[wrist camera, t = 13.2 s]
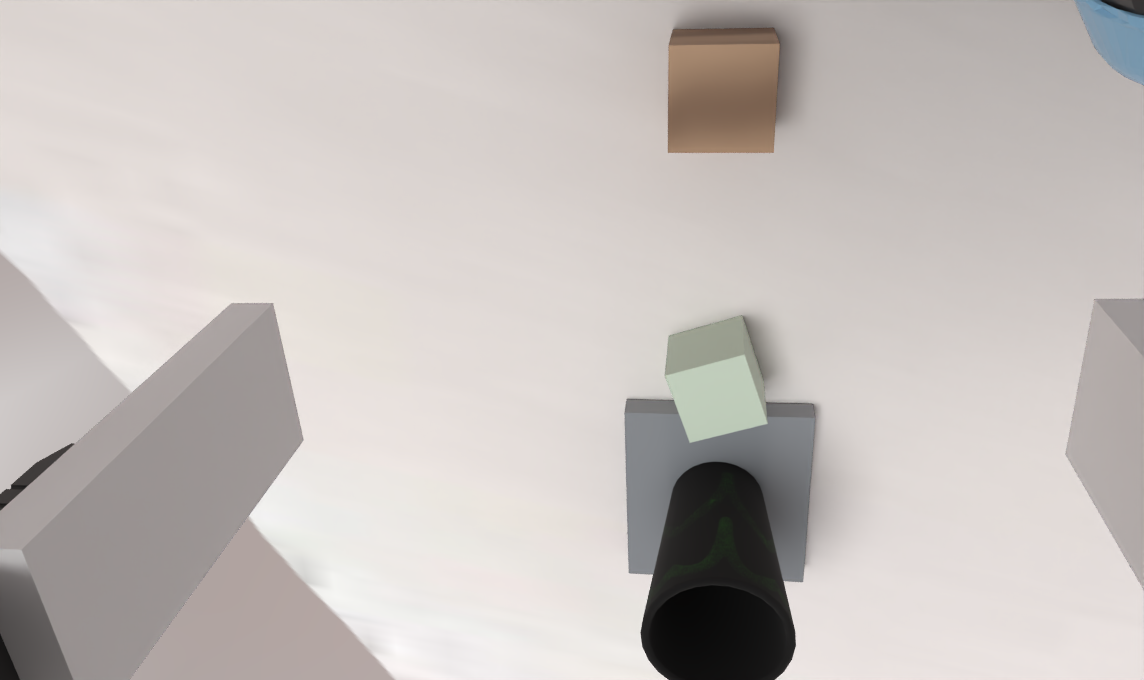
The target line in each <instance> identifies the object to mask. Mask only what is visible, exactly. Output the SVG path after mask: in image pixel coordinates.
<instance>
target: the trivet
mask: <svg viewBox="0 0 1144 680" xmlns="http://www.w3.org/2000/svg"><path fill="white" fill-rule="evenodd" d="M766 411H767V421H768V424H765V425H760V426H756V427H752V428H748V429H744V430H740V431H736V432H732V433H728V434H724V435H720V436H716V437H712V438H708V439H704V440H699V441H695V442H691V443H690V442H689V439H688V436H687V434H686V431H685V428H684V426H683V423H682V420H681V418H680V415H679V412H678V410H677V407H676V404H675V402H674V401H672V400H633V399H627V401H626V407H625V448H626V486H627V523H628V561H629V573H634V574H654V569H655V565H656V560H657V556H658V552H659V547H660V543H661V539H662V534H663V530H664V526H665V521H666V517H667V512H668V508H669V504H670V499H671V495H672V491H673V487H674V485H675V483H676V481H677V479H678V478H679V477H680V476H681V475H682V474H683V473H684V472H685V471H687V470H689V469H690V468H692V467H693V466H696V465H699V464H702V463H707V462H726V463H730V464H734V465H737V466H739V467H741V468H743V469H745V470H746V471H747V472H749V473H750V474H751V475H752V476H753V477H754V478H755V479H756V481H757V482H758V483H759V485H760V488H761V490H762V493H763V497H764V501H765V505H766V510H767V514H768V518H769V522H770V527H771V531H772V535H773V539H774V544H775V548H776V552H777V557H778V561H779V565H780V569H781V574H782V578H783V581H791V582H803V575H804V562H805V549H806V535H807V522H808V508H809V495H810V481H811V468H812V454H813V441H814V427H815V414H814V409H813V404H791V403H766Z"/></svg>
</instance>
